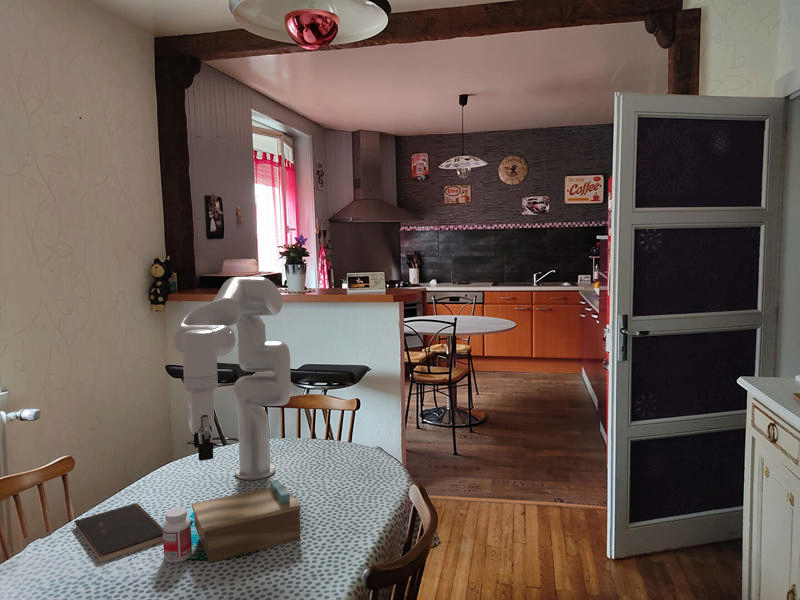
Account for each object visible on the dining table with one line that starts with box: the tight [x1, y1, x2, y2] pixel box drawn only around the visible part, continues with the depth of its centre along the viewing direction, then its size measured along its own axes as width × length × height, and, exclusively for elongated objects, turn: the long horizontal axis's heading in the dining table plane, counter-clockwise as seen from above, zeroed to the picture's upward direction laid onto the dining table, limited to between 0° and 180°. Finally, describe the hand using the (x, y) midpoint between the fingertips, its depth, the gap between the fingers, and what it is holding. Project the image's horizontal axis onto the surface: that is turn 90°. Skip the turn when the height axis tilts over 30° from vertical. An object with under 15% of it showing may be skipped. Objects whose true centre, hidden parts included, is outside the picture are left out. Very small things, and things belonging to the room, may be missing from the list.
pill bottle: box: [162, 506, 193, 564], centre depth 135 cm, size 6×6×11 cm
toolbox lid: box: [191, 479, 301, 540], centre depth 143 cm, size 14×23×7 cm, turn 118°
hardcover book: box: [74, 502, 163, 563], centre depth 147 cm, size 16×23×2 cm
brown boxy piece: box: [198, 508, 301, 564], centre depth 143 cm, size 13×22×8 cm, turn 118°
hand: (203, 452), depth 137 cm, fingers open, 9 cm apart
